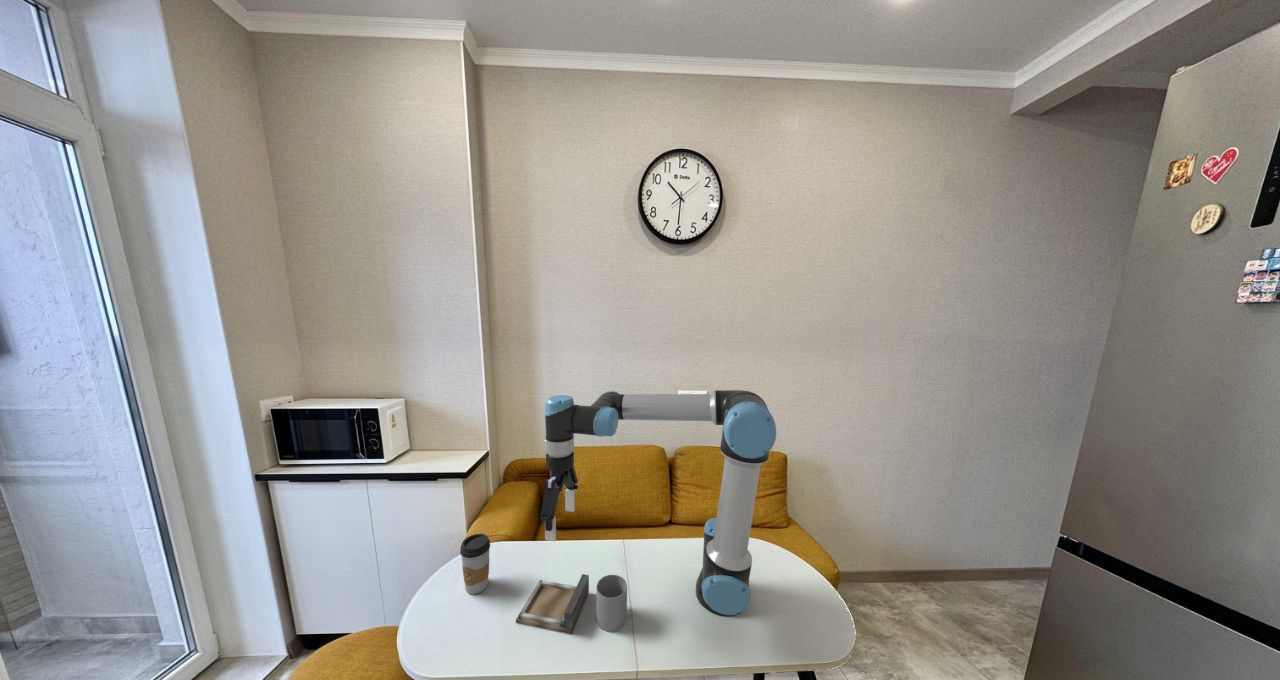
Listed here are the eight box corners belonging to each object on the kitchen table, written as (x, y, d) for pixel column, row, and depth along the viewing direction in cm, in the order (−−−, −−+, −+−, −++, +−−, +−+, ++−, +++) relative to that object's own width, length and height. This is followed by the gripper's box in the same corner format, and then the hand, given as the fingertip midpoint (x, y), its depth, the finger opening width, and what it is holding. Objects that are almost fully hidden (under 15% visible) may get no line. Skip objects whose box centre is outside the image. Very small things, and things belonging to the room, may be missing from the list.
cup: (622, 634, 100) (622, 600, 99) (592, 628, 102) (592, 595, 100) (629, 609, 108) (629, 577, 107) (601, 603, 110) (602, 572, 109)
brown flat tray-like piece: (588, 593, 114) (588, 575, 113) (571, 634, 100) (571, 614, 99) (539, 584, 117) (539, 566, 116) (515, 622, 103) (515, 603, 102)
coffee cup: (455, 592, 113) (453, 546, 111) (476, 573, 121) (475, 529, 119) (476, 601, 110) (475, 554, 108) (497, 581, 117) (496, 536, 116)
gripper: (564, 434, 116) (565, 499, 119) (524, 471, 92) (526, 552, 95) (588, 436, 115) (588, 502, 117) (553, 475, 90) (554, 556, 93)
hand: (560, 524), depth 106 cm, fingers open, 13 cm apart
